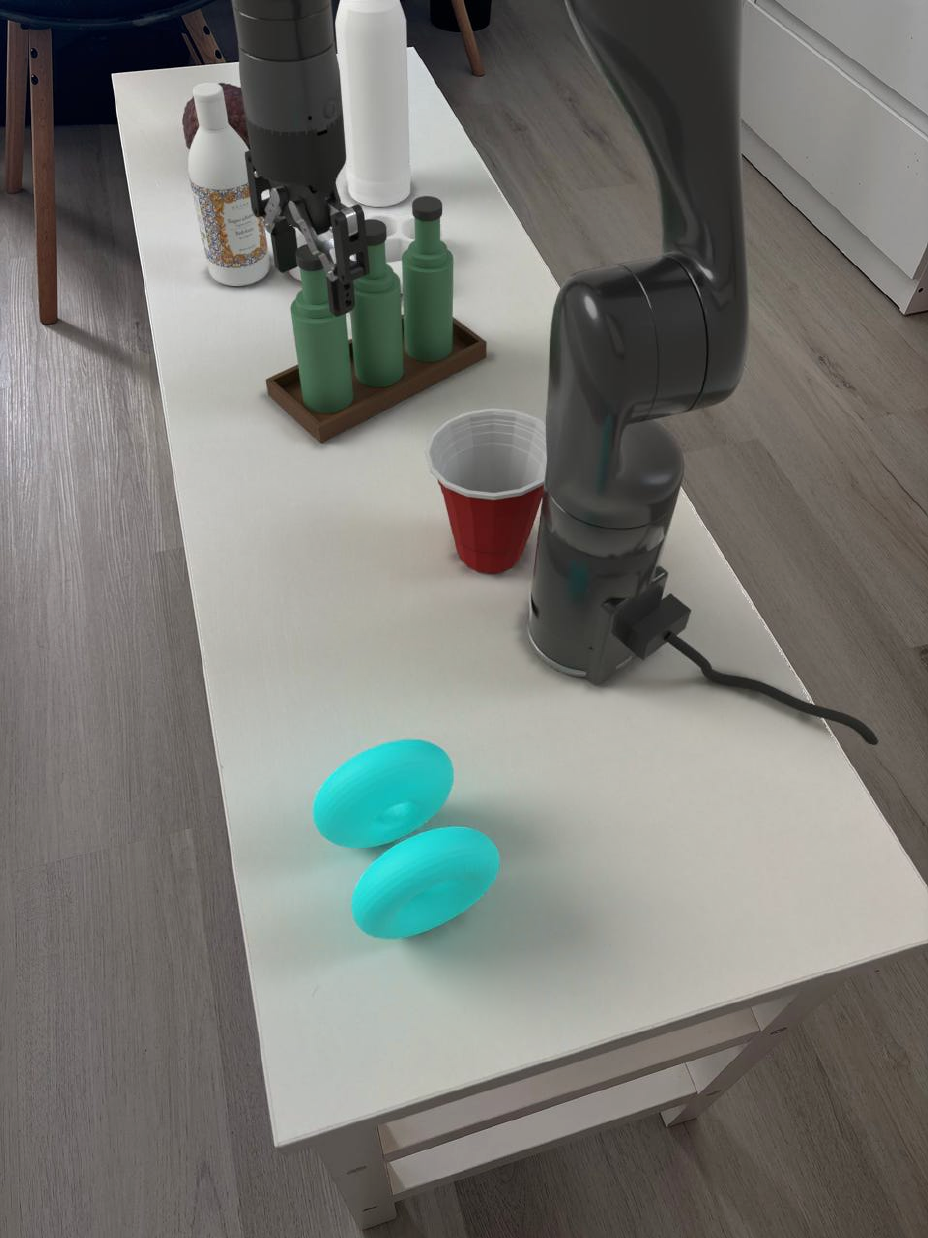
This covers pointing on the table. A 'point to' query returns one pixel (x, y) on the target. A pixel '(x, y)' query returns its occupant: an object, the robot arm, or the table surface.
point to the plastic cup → (490, 483)
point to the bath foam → (224, 195)
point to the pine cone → (233, 113)
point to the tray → (375, 399)
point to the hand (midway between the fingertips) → (314, 289)
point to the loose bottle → (320, 341)
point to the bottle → (374, 99)
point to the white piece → (395, 243)
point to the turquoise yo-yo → (417, 867)
